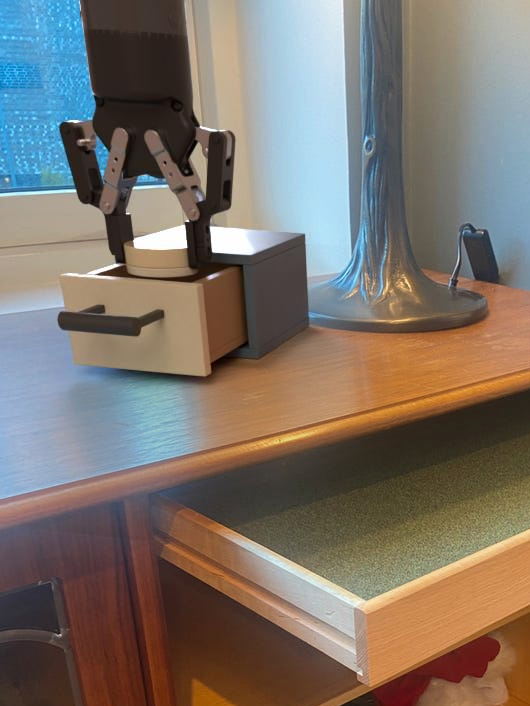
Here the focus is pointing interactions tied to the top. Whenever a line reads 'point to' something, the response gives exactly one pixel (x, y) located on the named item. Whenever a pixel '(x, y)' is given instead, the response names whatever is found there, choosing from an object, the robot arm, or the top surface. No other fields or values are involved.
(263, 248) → the cabinet
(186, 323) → the drawer
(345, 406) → the top surface
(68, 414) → the top surface
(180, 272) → the cream short cylinder
